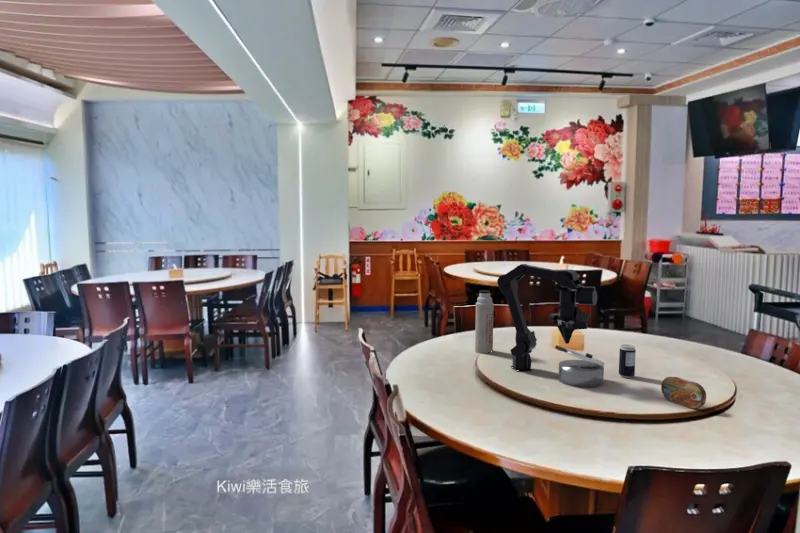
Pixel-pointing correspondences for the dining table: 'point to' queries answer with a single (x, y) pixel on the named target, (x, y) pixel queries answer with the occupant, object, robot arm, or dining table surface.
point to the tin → (683, 392)
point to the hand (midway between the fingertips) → (566, 343)
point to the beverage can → (627, 361)
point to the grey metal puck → (581, 373)
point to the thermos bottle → (484, 323)
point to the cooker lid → (581, 355)
